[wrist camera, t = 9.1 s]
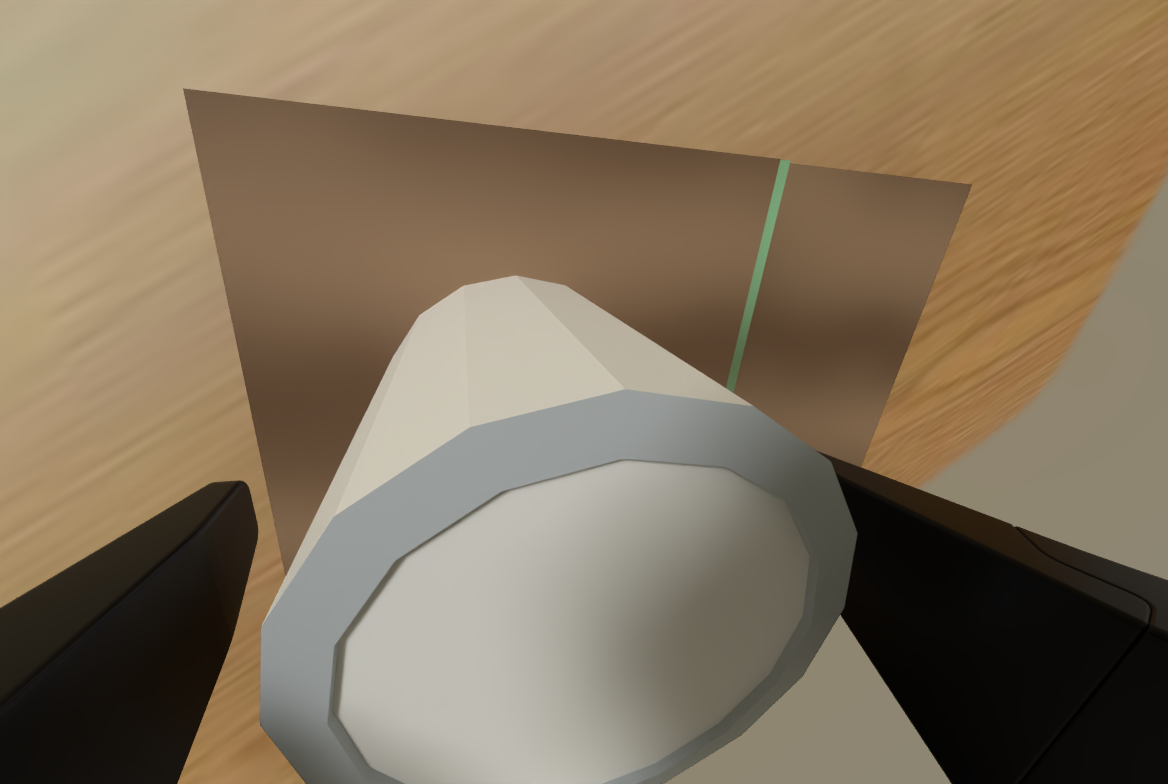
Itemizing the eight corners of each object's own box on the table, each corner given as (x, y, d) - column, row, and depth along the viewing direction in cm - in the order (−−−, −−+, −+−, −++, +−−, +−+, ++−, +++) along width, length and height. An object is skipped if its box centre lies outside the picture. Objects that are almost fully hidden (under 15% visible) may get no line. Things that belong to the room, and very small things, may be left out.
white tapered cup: (416, 185, 9) (377, 266, 3) (701, 315, 12) (969, 491, 6) (317, 480, 11) (183, 866, 5) (580, 534, 14) (689, 828, 8)
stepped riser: (825, 460, 21) (901, 522, 18) (321, 498, 16) (290, 596, 13) (925, 181, 17) (1054, 191, 13) (260, 104, 11) (183, 88, 8)
